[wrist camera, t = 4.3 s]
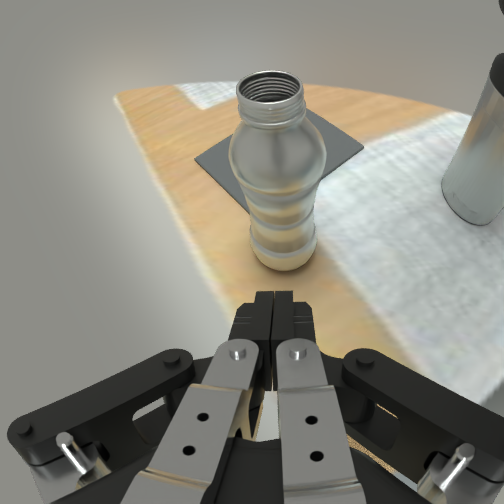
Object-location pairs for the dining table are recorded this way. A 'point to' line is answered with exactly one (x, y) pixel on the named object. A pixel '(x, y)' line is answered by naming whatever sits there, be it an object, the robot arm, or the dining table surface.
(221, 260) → the dining table surface
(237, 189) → the rubber mat
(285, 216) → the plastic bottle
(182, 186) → the dining table surface
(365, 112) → the dining table surface
